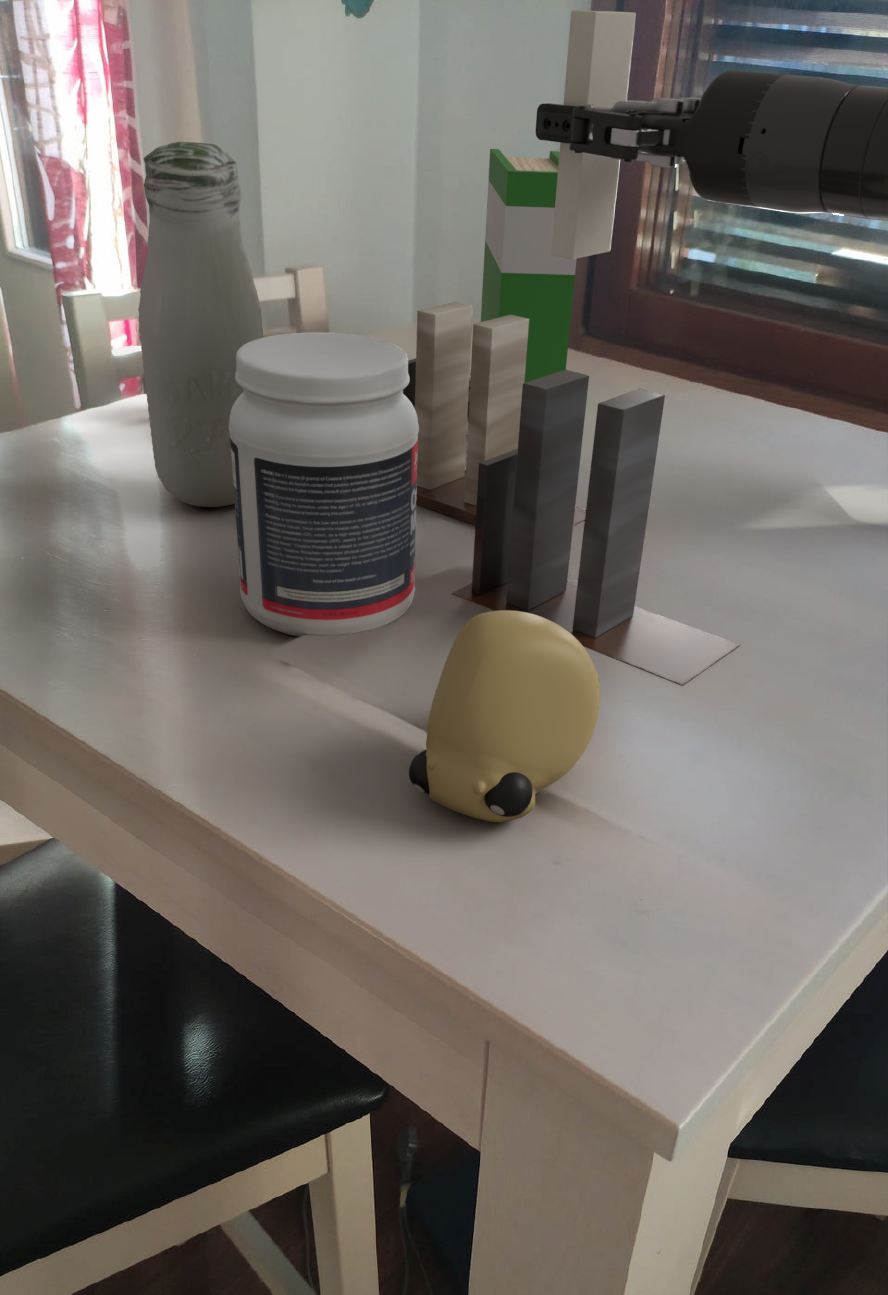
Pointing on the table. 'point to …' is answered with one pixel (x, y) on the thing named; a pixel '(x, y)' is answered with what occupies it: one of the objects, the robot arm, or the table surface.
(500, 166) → the hardback book
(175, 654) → the table surface
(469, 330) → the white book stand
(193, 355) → the glass bottle
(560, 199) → the beige rectangular block
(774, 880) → the table surface
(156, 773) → the table surface
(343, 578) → the supplement tub
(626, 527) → the grey book stand
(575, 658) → the yellow toy with eyes
